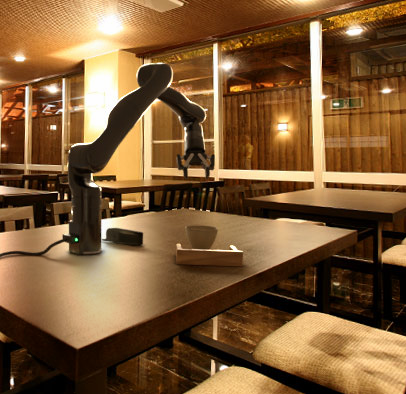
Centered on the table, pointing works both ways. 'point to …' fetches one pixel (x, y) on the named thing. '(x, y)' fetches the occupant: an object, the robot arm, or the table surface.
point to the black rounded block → (124, 236)
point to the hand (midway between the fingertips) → (196, 176)
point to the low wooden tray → (209, 256)
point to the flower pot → (201, 236)
